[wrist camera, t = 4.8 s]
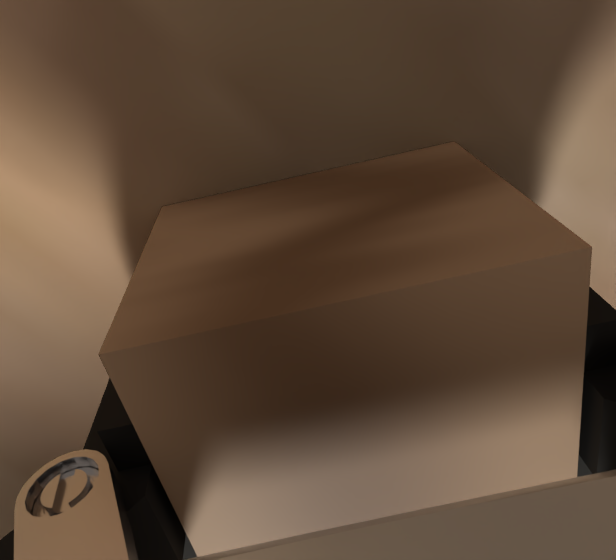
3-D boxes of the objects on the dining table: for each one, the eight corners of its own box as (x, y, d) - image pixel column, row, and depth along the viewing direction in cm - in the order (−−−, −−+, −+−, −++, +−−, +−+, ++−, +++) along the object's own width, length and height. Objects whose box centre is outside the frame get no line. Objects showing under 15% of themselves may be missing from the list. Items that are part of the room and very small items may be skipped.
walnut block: (454, 141, 11) (592, 246, 6) (469, 373, 14) (571, 555, 9) (161, 206, 11) (98, 354, 6) (239, 422, 14) (231, 626, 9)
